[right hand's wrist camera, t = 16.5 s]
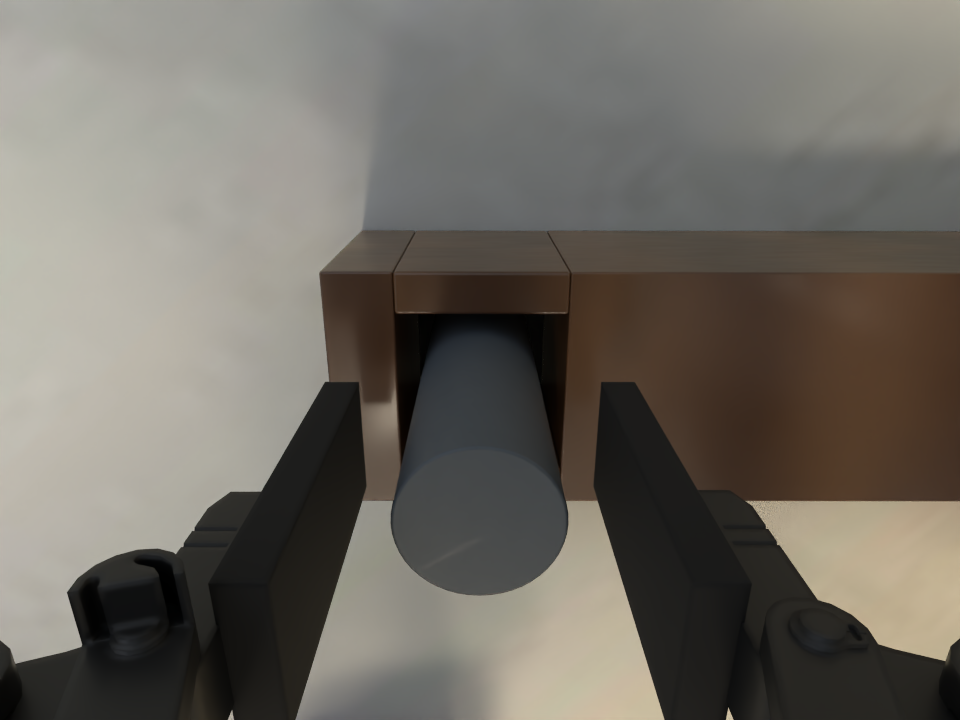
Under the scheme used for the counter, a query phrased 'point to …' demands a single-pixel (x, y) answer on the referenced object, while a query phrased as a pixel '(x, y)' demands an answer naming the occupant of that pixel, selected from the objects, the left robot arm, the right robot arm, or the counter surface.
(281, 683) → the right robot arm
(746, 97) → the counter surface
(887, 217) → the counter surface
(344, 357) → the peg board
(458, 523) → the peg
